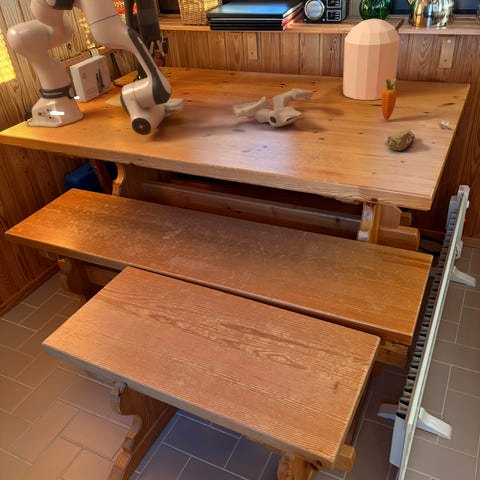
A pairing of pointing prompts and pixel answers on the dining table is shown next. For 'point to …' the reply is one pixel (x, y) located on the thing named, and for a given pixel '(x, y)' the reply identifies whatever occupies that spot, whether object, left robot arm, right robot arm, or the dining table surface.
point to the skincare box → (91, 78)
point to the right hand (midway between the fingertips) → (156, 68)
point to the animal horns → (280, 112)
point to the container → (370, 59)
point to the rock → (400, 140)
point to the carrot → (388, 99)
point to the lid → (159, 62)
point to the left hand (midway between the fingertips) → (163, 99)
